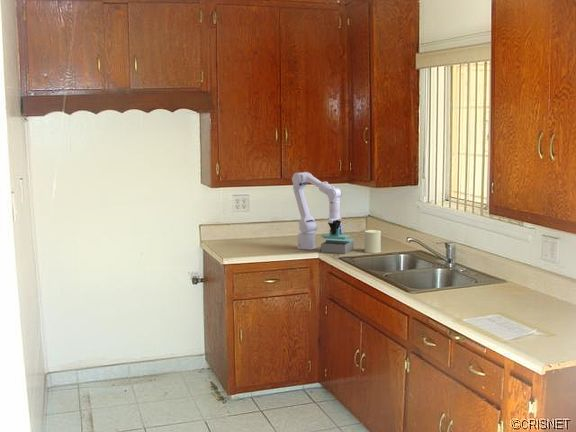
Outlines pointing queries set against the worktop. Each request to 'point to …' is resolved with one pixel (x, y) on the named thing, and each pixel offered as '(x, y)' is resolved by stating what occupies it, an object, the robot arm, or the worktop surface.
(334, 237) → the lid
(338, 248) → the tub
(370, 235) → the can
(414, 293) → the worktop surface
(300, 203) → the robot arm
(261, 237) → the worktop surface
